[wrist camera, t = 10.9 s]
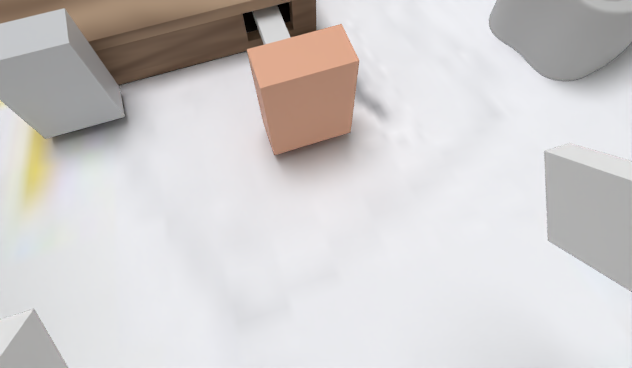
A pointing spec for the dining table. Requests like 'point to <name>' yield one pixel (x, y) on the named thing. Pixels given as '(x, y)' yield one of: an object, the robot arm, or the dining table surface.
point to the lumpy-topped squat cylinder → (564, 33)
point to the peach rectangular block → (302, 82)
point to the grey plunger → (55, 75)
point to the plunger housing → (163, 29)
